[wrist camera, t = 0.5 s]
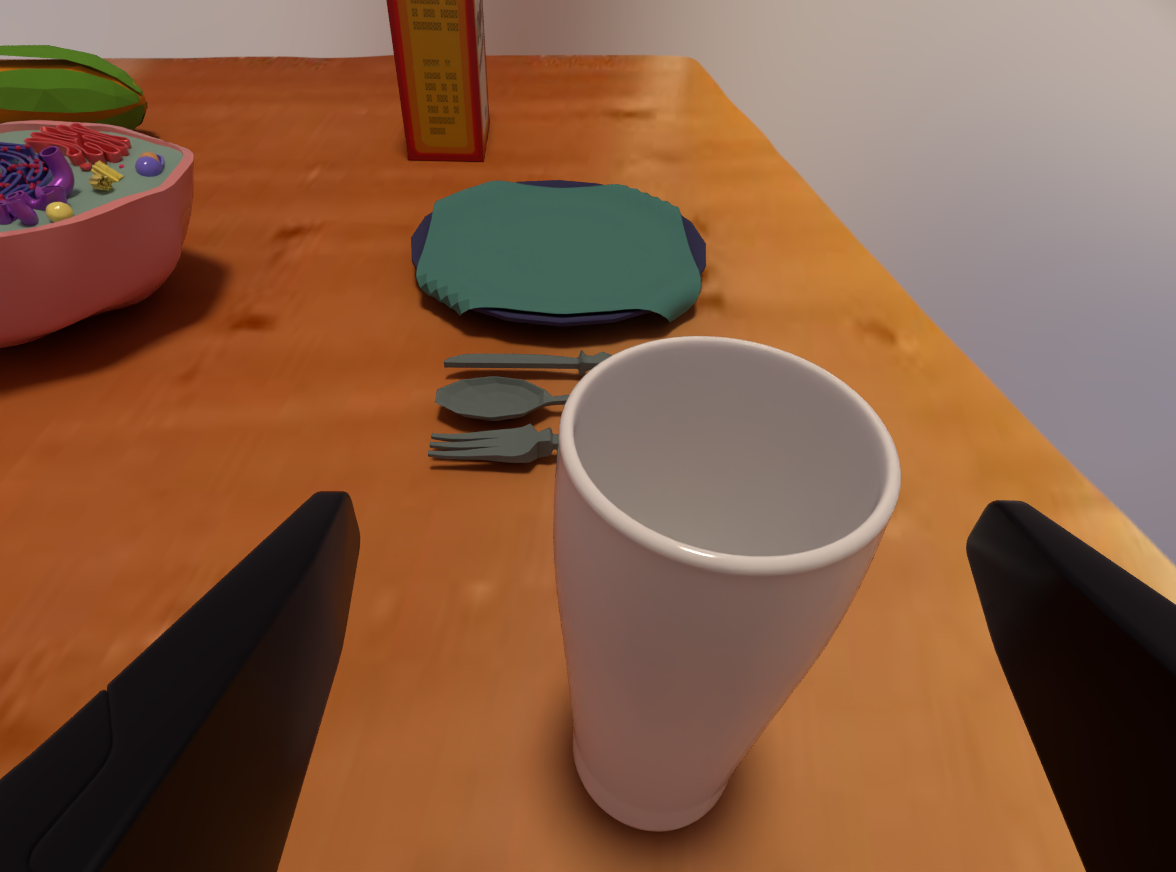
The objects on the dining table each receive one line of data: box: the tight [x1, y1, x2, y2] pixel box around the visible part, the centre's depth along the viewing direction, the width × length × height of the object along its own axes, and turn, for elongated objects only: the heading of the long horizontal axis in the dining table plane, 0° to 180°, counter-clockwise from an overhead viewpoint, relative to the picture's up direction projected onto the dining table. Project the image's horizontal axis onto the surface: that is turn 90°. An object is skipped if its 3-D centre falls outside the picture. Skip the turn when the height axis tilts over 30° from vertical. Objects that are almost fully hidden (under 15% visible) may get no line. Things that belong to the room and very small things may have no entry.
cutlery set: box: [411, 180, 706, 463], centre depth 43 cm, size 20×30×2 cm, turn 2°
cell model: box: [0, 120, 194, 348], centre depth 37 cm, size 17×20×11 cm
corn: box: [0, 45, 148, 131], centre depth 57 cm, size 7×8×20 cm
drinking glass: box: [553, 336, 901, 832], centre depth 19 cm, size 7×7×15 cm
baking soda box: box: [387, 0, 489, 162], centre depth 59 cm, size 10×6×16 cm
